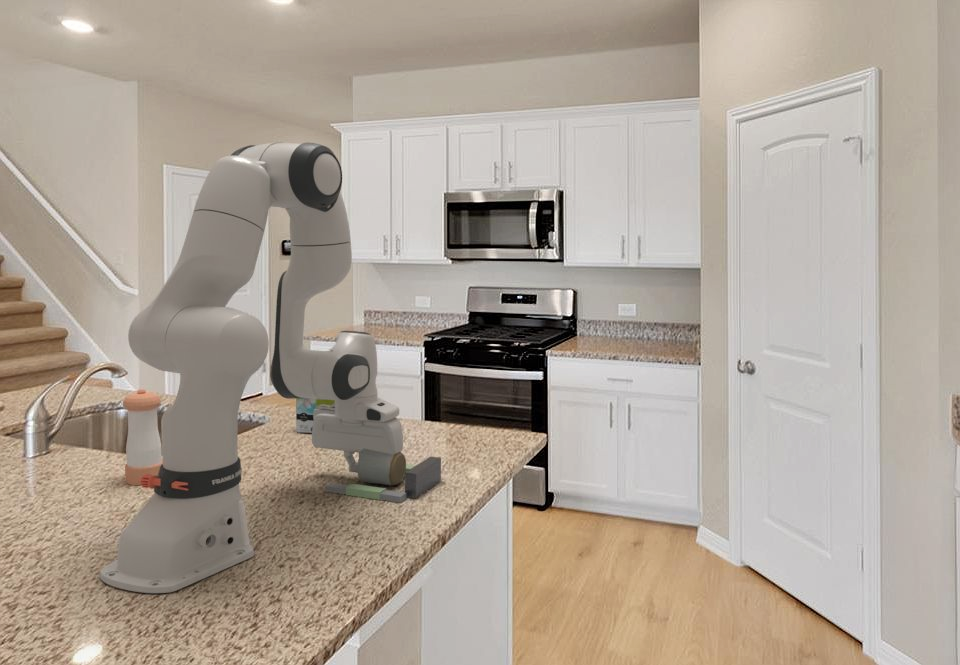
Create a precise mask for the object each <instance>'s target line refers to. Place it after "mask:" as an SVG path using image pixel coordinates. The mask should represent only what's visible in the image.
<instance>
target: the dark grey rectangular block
mask: <svg viewBox="0 0 960 665" xmlns="http://www.w3.org/2000/svg"><path fill="white" fill-rule="evenodd" d="M414 466H415V467H413V468H411V469H410V470H408V471H407V472H405V475H404V486H405V487H404V493H406V498H407V497H408V498H407V499H414V498H417V499H418V498H420V497H421V496H422V495H423V494H425V493H426V492H428V491H429V490H430V489H431V487H432V486H433V487H435V486H436V485H437V484H439V483H440V482H441V481H442V457H440V456H439V457H437V456H429V457H427V458H426V459H424V460H422V461H421V462H419V463H418V464H416V465H414ZM439 481H440V482H439ZM438 482H439V483H438ZM435 484H436V485H435ZM434 485H435V486H434ZM433 487H432V488H433ZM428 489H429V490H428ZM427 490H428V491H427ZM424 492H425V493H424ZM421 494H422V495H421ZM420 495H421V496H420Z"/></svg>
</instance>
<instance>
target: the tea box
mask: <svg viewBox="0 0 960 665" xmlns="http://www.w3.org/2000/svg"><path fill="white" fill-rule="evenodd" d="M295 403H296V404H295V405H296V406H295V413H296V414H295V415H296V416H295V419H296V420H295V421H296V433H297V432H298V433H307V434H308V433H309V434H312V429H313V422H314V419H313V411H314V409H315V408H316V407H317V406H319V405H320V404H325V405H335V400H320V399H309V398H297V399H295ZM317 409H319V408H317Z"/></svg>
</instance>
